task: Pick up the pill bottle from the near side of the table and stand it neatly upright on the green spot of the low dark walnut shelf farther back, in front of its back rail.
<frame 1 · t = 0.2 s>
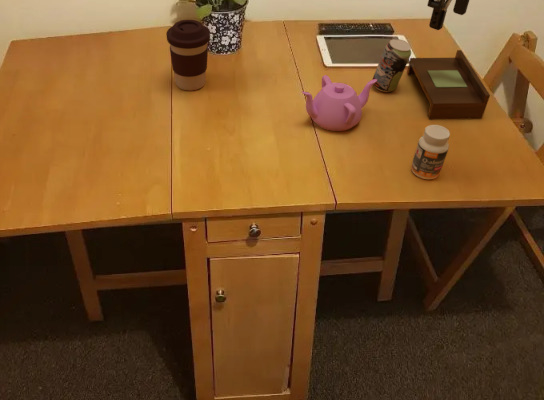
hand: (447, 20, 106), 27 cm above the table, tool pointing down, fingers open, 8 cm apart
teapot: (335, 119, 131), on the table
beverage can: (386, 88, 140), on the table
shelf: (442, 94, 138), on the table
coffee cup: (190, 84, 142), on the table
pill bottle: (424, 172, 118), on the table
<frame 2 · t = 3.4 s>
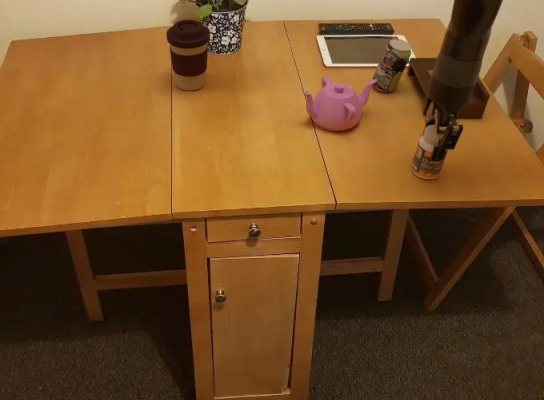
hand: (431, 149, 114), 6 cm above the table, tool pointing down, fingers closed on pill bottle, 5 cm apart
pill bottle: (424, 172, 118), on the table, touching gripper
everything else where it was.
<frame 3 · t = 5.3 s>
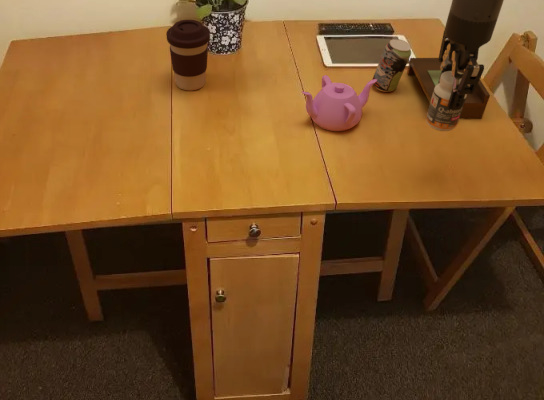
hand: (448, 98, 105), 17 cm above the table, tool pointing down, fingers closed on pill bottle, 5 cm apart
pill bottle: (440, 124, 109), point 12 cm above the table, touching gripper
everything else where it was.
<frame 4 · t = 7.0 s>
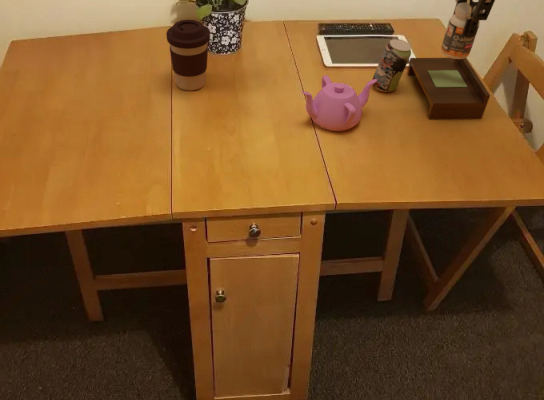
hand: (462, 28, 116), 22 cm above the table, tool pointing down, fingers closed on pill bottle, 5 cm apart
pill bottle: (454, 54, 120), point 16 cm above the table, touching gripper
everything else where it was.
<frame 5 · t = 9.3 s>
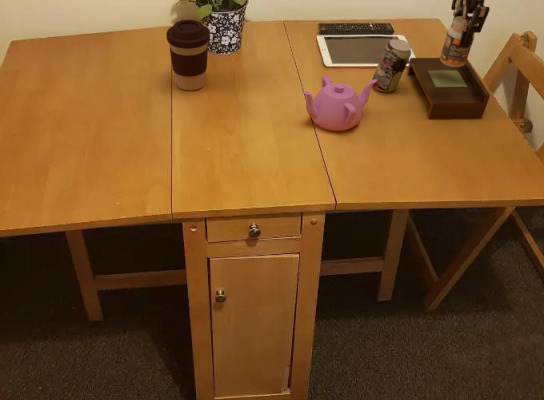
hand: (459, 39, 128), 14 cm above the table, tool pointing down, fingers closed on pill bottle, 5 cm apart
pill bottle: (452, 62, 132), point 9 cm above the table, touching gripper
everything else where it was.
when the fingers open (10 cm above the table, at t = 10.9 s): pill bottle stays where it is, resting on shelf.
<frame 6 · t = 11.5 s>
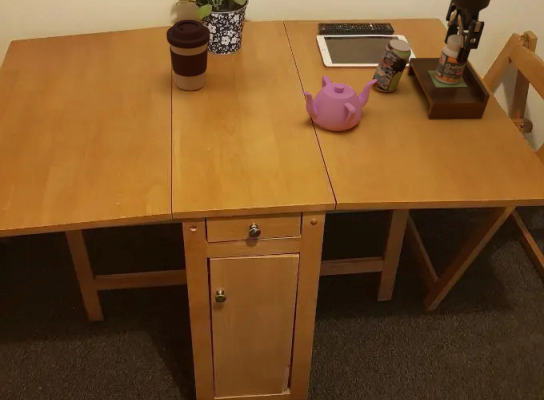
hand: (454, 52, 131), 11 cm above the table, tool pointing down, fingers open, 8 cm apart
pill bottle: (447, 79, 135), point 4 cm above the table, touching shelf
everything else where it was.
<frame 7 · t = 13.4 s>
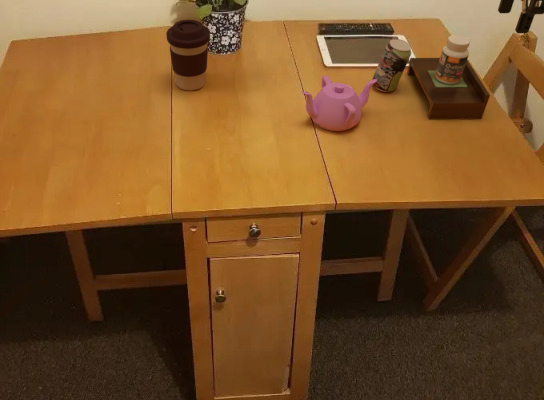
hand: (512, 22, 108), 27 cm above the table, tool pointing down, fingers open, 8 cm apart
nothing on the table moved.
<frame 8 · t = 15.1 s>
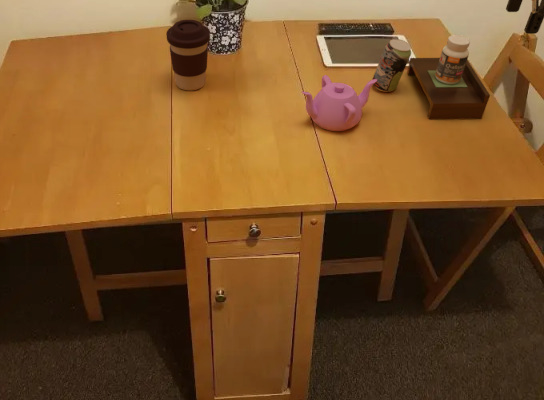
hand: (520, 21, 104), 28 cm above the table, tool pointing down, fingers open, 8 cm apart
nothing on the table moved.
at the end: pill bottle 0.1 cm off-centre on the shelf, point 4.2 cm above the shelf's base; pill bottle tilted 0°; the gripper is holding nothing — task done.
